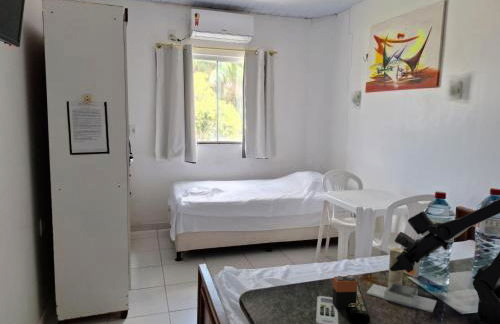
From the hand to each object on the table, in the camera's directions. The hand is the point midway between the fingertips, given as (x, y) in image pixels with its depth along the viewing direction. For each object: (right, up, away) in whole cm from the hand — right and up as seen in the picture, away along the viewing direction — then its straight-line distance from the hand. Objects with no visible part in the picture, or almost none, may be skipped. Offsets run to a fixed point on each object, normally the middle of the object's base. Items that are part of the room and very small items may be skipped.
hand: (392, 268), depth 132 cm
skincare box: (+13, -6, +11) cm, 18 cm away
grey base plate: (-1, -7, -10) cm, 12 cm away
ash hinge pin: (+1, -7, 0) cm, 7 cm away
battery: (-22, -8, -16) cm, 28 cm away
